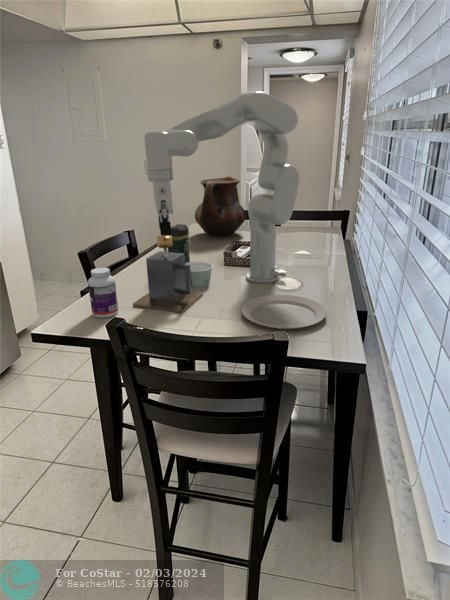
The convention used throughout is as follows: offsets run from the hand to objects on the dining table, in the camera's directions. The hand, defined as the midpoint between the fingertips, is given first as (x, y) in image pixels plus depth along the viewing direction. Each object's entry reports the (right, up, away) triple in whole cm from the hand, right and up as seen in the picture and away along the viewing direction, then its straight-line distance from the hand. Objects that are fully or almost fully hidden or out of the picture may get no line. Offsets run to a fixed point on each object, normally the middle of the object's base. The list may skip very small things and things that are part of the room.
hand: (165, 231), depth 134 cm
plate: (+37, -27, -4) cm, 46 cm away
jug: (+16, +14, +99) cm, 101 cm away
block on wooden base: (0, -22, +8) cm, 24 cm away
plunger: (0, -20, +8) cm, 22 cm away
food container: (+9, -15, +25) cm, 31 cm away
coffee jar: (0, -10, +40) cm, 41 cm away
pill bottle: (-19, -26, -1) cm, 32 cm away
